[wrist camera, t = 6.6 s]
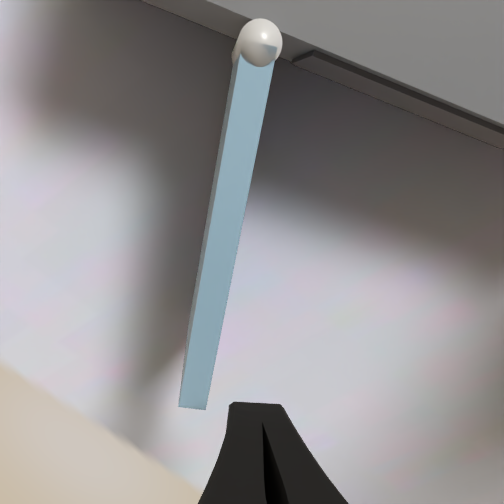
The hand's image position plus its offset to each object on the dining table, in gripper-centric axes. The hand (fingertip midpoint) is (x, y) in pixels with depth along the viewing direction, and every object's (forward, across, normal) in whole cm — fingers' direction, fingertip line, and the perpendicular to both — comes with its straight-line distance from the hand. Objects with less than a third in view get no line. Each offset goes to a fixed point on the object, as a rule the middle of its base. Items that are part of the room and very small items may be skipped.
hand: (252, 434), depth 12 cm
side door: (+7, +1, -5) cm, 8 cm away
